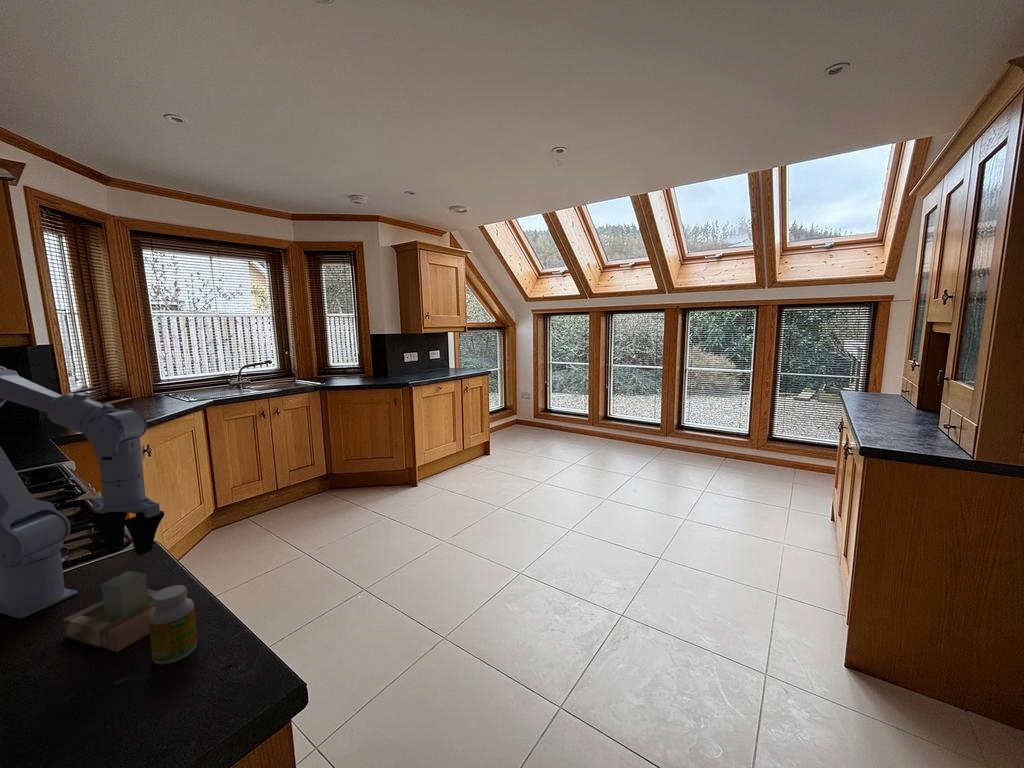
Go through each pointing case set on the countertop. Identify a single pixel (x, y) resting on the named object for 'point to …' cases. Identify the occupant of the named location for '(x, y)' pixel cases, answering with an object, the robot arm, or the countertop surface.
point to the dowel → (124, 594)
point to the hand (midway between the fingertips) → (129, 550)
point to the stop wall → (129, 631)
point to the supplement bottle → (172, 625)
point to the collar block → (97, 623)
